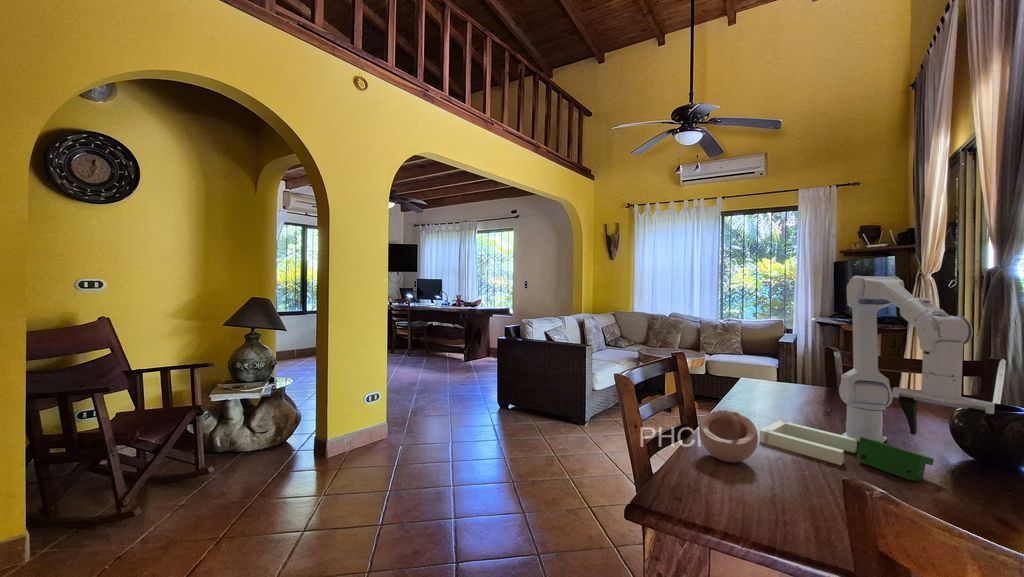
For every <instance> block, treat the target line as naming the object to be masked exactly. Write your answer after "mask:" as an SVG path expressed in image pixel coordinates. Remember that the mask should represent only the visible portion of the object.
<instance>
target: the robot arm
mask: <svg viewBox="0 0 1024 577" xmlns="http://www.w3.org/2000/svg"><path fill="white" fill-rule="evenodd" d="M846 303H847V304H846V305H847V306H848V307H850V308H851V309H852V360H853V361H852V362H853V368H852V369H850V370H848V371H847V372H845V373H843V374H841V377H840V378H841V379H840V384H839V388H838V392H839V396H840V399H841V400H842V401H843V402H844V404H845V405H846V425H845V426H846V427H845V432H844V433H842V434H841V435H843V436H847V437H851V438H855V439H857V443H859V441H860V437H863V438H867V439H872V440H876V441H879V442H882V443H885V441H886V440H887V439H888V438H887V437H886V436H883V420H884V418H883V416H884V415H883V411H886V410H887V408H888V407H889V406H891V404H892V402H893V398H898V400H897V401H898V405H899V406H900V408H901V410H902V411H903V414H904V416H905V417H906V418H905V419H906V421H907V424H908V427H909V434H910V435H913V436H915V435H916V434H917V432H918V430H917V429H918V426H917V424H918V423H917V412H918V411H917V410H918V402H924V403H930V404H935V405H943V406H948V407H954V408H959V409H966V410H965V412H964V417H965V418H964V420H965V422H964V436H963V440H962V441H963V442H962V445H963V447H964V446H965V447H966V448H967V447H970V442H971V440H972V439H971V438H972V435H973V434H974V432H975V430H976V429H977V427H978V426H979V424H980V423H981V422H982V420H983V419H984V418H985V416H986V414H990V415H995V405H996V404H995V402H992V401H987V400H986V401H985V400H981V399H975V398H970V397H965V396H962V387H963V386H962V382H963V358H964V357H963V356H964V345H966V344H968V343H969V342H970V341H971V340H972V338H973V333H974V332H973V331H974V330H973V327H972V326H973V325H972V324H971V322H970V321H969V320H968V319H967V318H966V317H965V316H964V315H963V316H961V315H955V316H954V315H949V313H947V312H946V311H945V310H944V309H941V308H940V307H938V306H937V305H936V304H934V303H933V302H932V300H931V299H930V298H927V297H915V296H914V295H913V294H912V293H910V292H909V291H908V290H907V289H906V288H905V282H904V280H902V279H900V277H898V276H893V275H892V276H864V275H863V276H861V275H854V276H852V277H851V278H850V280H849V281H848V283H847V285H846ZM890 305H894V306H895V307H897V308H899V315H900V316H901V317H902V318H903V319H904V320H905V321H907V322H908V323H909V324H910V325H911V326H913V327H914V328H915V331H916V332H915V333H916V336H917V339H918V340H919V348H920V350H921V351H922V365H921V366H922V368H921V370H922V371H921V388H920V390H919V389H911V388H905V387H897V386H894V387H893V388H891V385H890V379H889V378H888V377H886V376H885V375H883V374H882V373H881V372H880V371H879V353H878V352H879V351H878V350H879V349H878V318H877V317H878V316H877V313H878V312H879V311H880V310H881V309H885V308H887V307H889V306H890Z"/></svg>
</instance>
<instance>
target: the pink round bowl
mask: <svg viewBox="0 0 1024 577" xmlns="http://www.w3.org/2000/svg"><path fill="white" fill-rule="evenodd" d="M699 422H700V423H699V426H698V427H699V428H698V431H699V432H698V435H699V438H700V441H701V444H702V445H703V447H704V448H705V449H706V451H707V452H708V453H709V454H710V455H711V456H712V457H714V458H716V459H718V460H719V461H723V462H727V463H739V462H742V461H745V460H748V459H749V458H750V457H751V456H752V455H753V454H754V453H755V451H756V449H757V448H758V447H757V446H758V440H759V438H758V436H759V435H758V431H757V428H756V425H755V423H754V422H753V421H752V420H751V419H750V418H748V417H747V416H745V415H743V414H740V413H739V412H737V411H729V410H726V409H724V410H722V409H721V410H720V409H719V410H714V411H712V412H709V413H707V414H706V415H704V416H703V418H702V419H701V420H700V421H699Z"/></svg>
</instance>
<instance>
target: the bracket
mask: <svg viewBox="0 0 1024 577" xmlns="http://www.w3.org/2000/svg"><path fill="white" fill-rule="evenodd" d="M759 443H763V444H767V445H769V446H773V447H777V448H779V449H783V450H786V451H790V452H792V453H793V452H794V453H797V454H801V455H805V456H808V457H811V458H815V459H818V460H821V461H825V462H828V463H832V464H835V465H838V466H842V465H843V464H844V458H845V451H846V452H849V453H855V454H856V452H857V451H858V441H857V439H855V438H851V437H847V436H843V435H842V434H838V433H834V432H829V431H826V430H821V429H817V428H813V427H809V426H804V425H801V424H797V423H794V422H788V421H785V420H781V419H779V420H777V421H776V422H773V423H772V424H769V425H767V426H766V427H764V428H761V429H760V430H759Z"/></svg>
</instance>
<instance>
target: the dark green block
mask: <svg viewBox="0 0 1024 577" xmlns="http://www.w3.org/2000/svg"><path fill="white" fill-rule="evenodd" d="M856 452H857V453H856V458H857V460H858V462H860V463H862V464H863V465H867V466H869V467H872V468H876V469H878V470H881V471H884V472H886V473H889V474H892V475H894V476H898V477H900V478H903V479H905V480H908V481H913V482H920V481H922V480H923V479H924V475H925V469H926V465H930V466H933V465H934V461H935V459H934V457H933V458H932V457H930V456H927V455H924V454H921V453H917V452H912V451H909V450H906V449H902V448H899V447H897V446H894V445H891V444H888V443H886V442H883V443H882V442H879V441H876V440H872V439H867V438H863V437H860V441H859V442H858V445H857V451H856Z"/></svg>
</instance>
